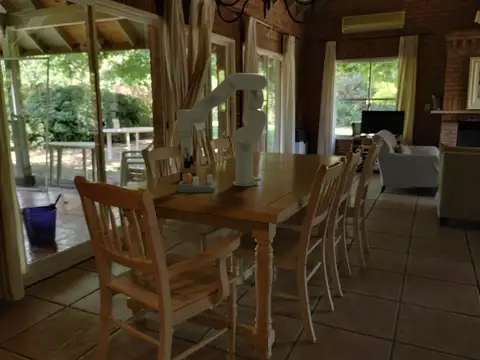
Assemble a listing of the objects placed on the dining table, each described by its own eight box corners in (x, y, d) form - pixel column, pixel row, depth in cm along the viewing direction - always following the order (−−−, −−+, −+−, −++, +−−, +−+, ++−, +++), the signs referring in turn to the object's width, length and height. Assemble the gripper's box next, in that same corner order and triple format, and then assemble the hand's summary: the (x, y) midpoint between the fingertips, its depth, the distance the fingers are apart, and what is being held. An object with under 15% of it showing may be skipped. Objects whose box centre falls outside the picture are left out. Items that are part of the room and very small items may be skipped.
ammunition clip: (179, 180, 237) (179, 160, 235) (181, 180, 239) (180, 160, 237) (196, 181, 234) (195, 161, 231) (197, 181, 235) (196, 160, 233)
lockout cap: (191, 184, 214) (191, 173, 213) (190, 185, 210) (190, 174, 209) (183, 184, 214) (183, 173, 213) (182, 185, 210) (181, 174, 209)
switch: (198, 185, 210) (198, 176, 209) (197, 186, 207) (197, 177, 206) (193, 185, 210) (193, 176, 209) (193, 186, 207) (192, 177, 206)
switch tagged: (212, 183, 216) (212, 174, 215) (212, 184, 213) (211, 175, 212) (207, 183, 216) (207, 174, 215) (207, 184, 213) (207, 175, 212)
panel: (216, 187, 218) (216, 180, 218) (214, 192, 207) (214, 185, 206) (181, 187, 219) (181, 180, 218) (177, 192, 207) (177, 185, 206)
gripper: (181, 132, 216) (184, 164, 220) (175, 136, 199) (179, 170, 203) (195, 131, 216) (198, 163, 219) (190, 135, 199) (193, 169, 202)
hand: (188, 166), depth 211 cm, fingers open, 9 cm apart
